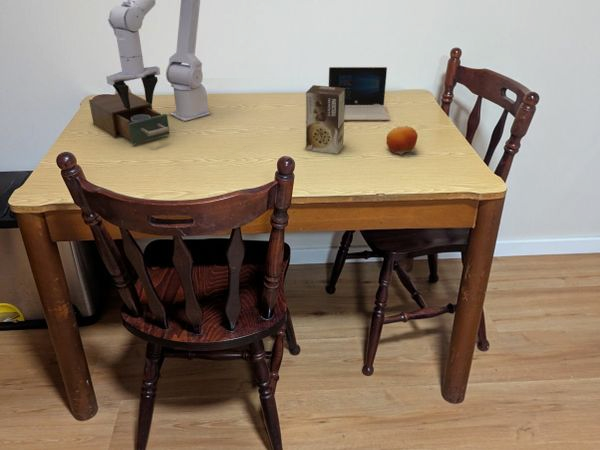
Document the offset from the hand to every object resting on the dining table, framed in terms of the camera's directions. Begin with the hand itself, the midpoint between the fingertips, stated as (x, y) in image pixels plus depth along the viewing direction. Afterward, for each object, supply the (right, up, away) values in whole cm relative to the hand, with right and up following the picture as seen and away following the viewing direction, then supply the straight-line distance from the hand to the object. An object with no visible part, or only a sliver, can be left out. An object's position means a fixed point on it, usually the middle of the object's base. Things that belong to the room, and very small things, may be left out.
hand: (138, 105), depth 153 cm
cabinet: (-8, -3, +12) cm, 15 cm away
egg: (-12, +6, +28) cm, 31 cm away
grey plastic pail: (0, -6, +4) cm, 7 cm away
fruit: (+71, -13, -3) cm, 73 cm away
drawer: (+1, -8, +4) cm, 8 cm away
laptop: (+62, +2, +21) cm, 66 cm away
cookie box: (+51, -12, -1) cm, 52 cm away
